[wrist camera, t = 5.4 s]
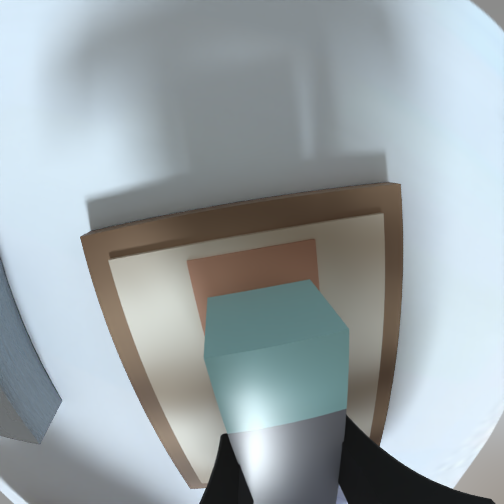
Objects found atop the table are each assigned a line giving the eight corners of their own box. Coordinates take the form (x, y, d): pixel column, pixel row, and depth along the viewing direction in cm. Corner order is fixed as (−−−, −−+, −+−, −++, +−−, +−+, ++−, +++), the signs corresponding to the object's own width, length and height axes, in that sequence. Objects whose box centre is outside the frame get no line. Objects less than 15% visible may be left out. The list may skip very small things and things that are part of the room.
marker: (317, 479, 13) (332, 523, 10) (260, 491, 13) (268, 537, 9) (309, 279, 9) (349, 329, 6) (207, 297, 9) (203, 357, 6)
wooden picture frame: (372, 440, 16) (380, 454, 15) (190, 477, 15) (190, 492, 14) (387, 182, 11) (404, 184, 10) (90, 231, 11) (76, 238, 9)
